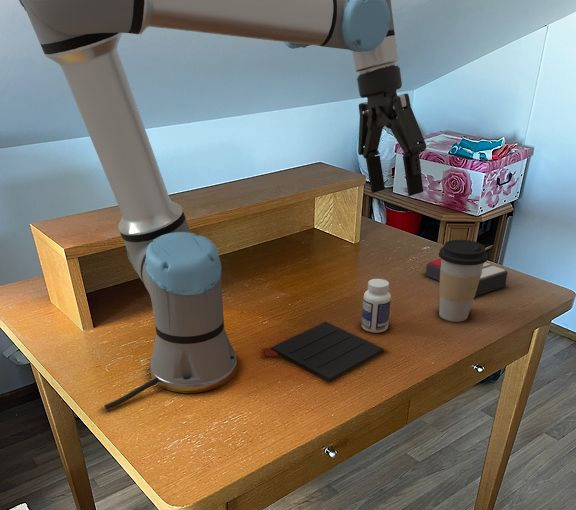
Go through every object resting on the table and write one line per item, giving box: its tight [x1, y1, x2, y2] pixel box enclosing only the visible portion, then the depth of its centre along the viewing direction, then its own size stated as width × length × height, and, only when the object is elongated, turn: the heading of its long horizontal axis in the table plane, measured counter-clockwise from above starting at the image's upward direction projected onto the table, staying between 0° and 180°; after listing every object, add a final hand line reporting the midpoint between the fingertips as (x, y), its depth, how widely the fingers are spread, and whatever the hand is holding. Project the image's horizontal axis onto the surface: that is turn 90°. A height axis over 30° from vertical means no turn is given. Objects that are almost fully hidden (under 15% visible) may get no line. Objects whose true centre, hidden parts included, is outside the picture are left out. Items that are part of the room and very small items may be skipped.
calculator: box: [425, 257, 508, 297], centre depth 139 cm, size 11×4×15 cm
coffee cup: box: [438, 239, 489, 323], centre depth 121 cm, size 9×9×15 cm
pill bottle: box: [361, 278, 392, 334], centre depth 118 cm, size 5×5×10 cm
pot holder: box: [264, 321, 385, 383], centre depth 112 cm, size 17×16×1 cm
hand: (396, 192), depth 113 cm, fingers open, 13 cm apart
